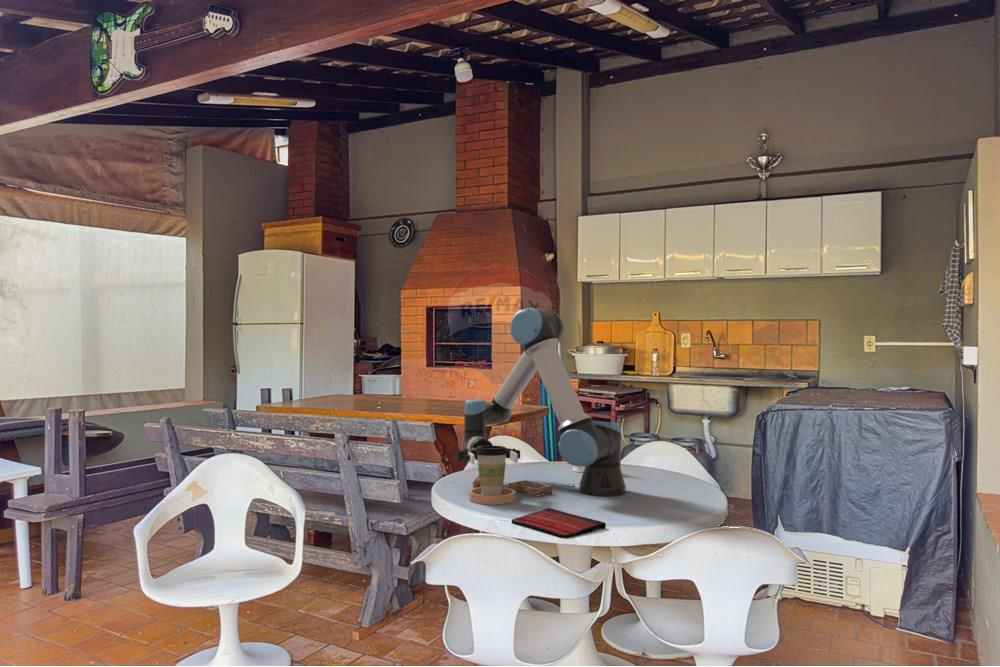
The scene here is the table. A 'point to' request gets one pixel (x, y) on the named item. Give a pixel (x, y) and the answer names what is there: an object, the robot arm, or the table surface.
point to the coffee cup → (491, 469)
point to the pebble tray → (530, 487)
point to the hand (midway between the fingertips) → (495, 459)
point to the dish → (506, 496)
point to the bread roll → (477, 483)
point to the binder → (558, 523)
